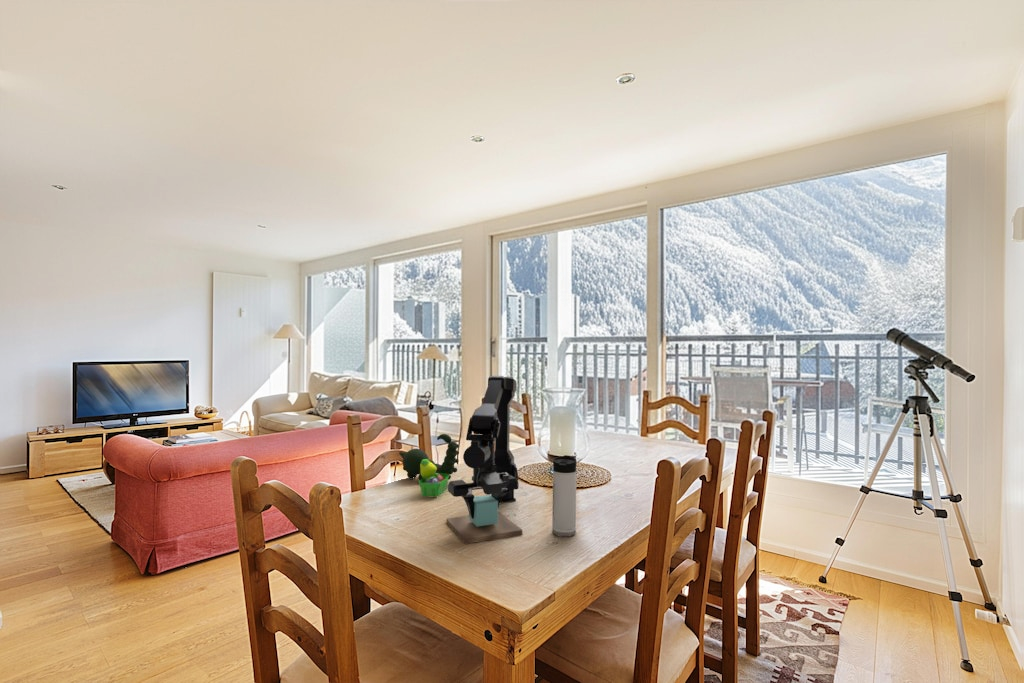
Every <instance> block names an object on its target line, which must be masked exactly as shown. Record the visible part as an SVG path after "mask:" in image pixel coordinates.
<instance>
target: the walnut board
mask: <svg viewBox="0 0 1024 683" xmlns="http://www.w3.org/2000/svg"><path fill="white" fill-rule="evenodd" d="M445 522H446V525H448V527H450V529H451V528H452V529H453V530H454V531H453V530H452V531H453V532H454V533H455V534H456V536H459V537H460V538H459V537H458V538H459V539H460V540H461V542H463V543H464V544H465V545H466V543H467V544H472V542H473V543H477V541H479V542H485V541H491V540H496V539H497V538H498V539H503V538H508V537H515V535H516V536H519V535H520V536H521V534H522V535H523V529H522V528H520V526H518V525H517V524H516V523H514V522H513V521H512V520H511V519H509V518H508V517H507V516H506V515H504V514H503V513H502V512H501V511H499V510H498V524H491V525H485V526H478V527H477V526H476V525H475V524H474V523H473V522H472V521H471V520H470V519H469V514H468V515H463V516H462V515H461V516H455V517H448V518H447V517H446V519H445ZM484 540H485V541H484Z"/></svg>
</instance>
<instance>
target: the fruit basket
mask: <svg viewBox="0 0 1024 683" xmlns="http://www.w3.org/2000/svg"><path fill="white" fill-rule="evenodd" d="M420 468H421V470H420V472H421V475H422V477H423V478H422V479H421V480H418V484H419V487H420V491H421V494H422V495H421V496H422V497H427V496H436V497H435V498H438V497H440V495H441V494H442V493H443V492H444V491H445V490H446V489H447V486H448V481H449V480H448V478H449V474H440V473H436V470H437V468H436V466H435V465H434V464H433V463H431V462H430V461H429V460H427V459H423V460H422V461H421V464H420ZM441 492H442V493H441ZM439 494H440V495H439ZM437 496H438V497H437Z"/></svg>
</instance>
